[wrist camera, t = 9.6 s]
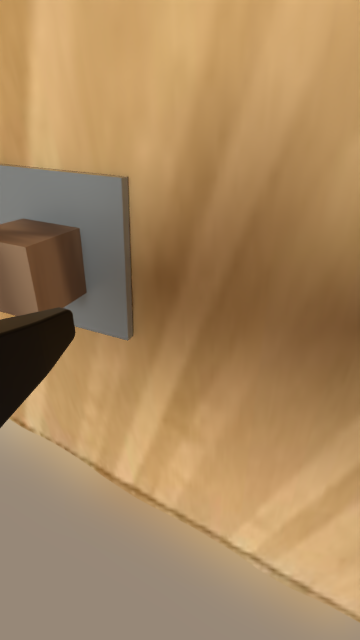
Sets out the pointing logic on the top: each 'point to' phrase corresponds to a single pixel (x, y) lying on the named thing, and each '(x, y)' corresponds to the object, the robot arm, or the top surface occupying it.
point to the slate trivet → (82, 235)
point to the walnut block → (39, 266)
